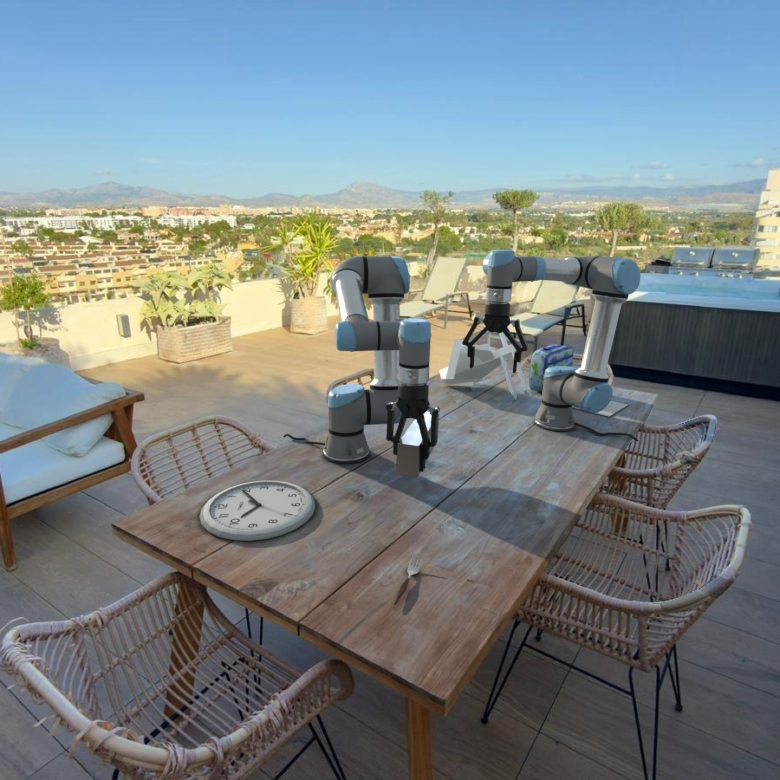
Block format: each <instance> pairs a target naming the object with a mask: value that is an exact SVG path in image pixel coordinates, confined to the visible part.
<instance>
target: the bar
mask: <svg viewBox="0 0 780 780" xmlns="http://www.w3.org/2000/svg"><path fill="white" fill-rule="evenodd" d="M424 416H425V423H426V427H427V431H428V434H429V438H430V440H431V415H430V411H426V412H425V414H424ZM439 423H440V412H439V413H438V427H439V425H440V424H439ZM400 438H401V439H400V440H399V442H398V445H397V455H396V475H398V476H404V477H410V478H417V479H419V476H420V475H421V473H422V472H420V463H421V447H422V446H423V441H422V437H421V433H420V429H419V425H418V423H417V420H416V419H413V421H412V423H411V424H410V425H409V426H408V428H407V430H406V431H405V432H404V433H403V435H401V437H400ZM435 447H436V446H434V447H430V455H431V454H432V452H433V450H434V449H435ZM428 459H429V458H428ZM428 459H426V461H425V464H426V463H427V461H428Z"/></svg>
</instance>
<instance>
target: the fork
mask: <svg viewBox="0 0 780 780" xmlns="http://www.w3.org/2000/svg"><path fill="white" fill-rule="evenodd" d="M414 555H415V553H413V554H412V557H411V559H410V562H409V565H408V567H407V573H408V576H407V578H406V579H405V580H404V582H403V583H402V584H401V586H400V587H399V591H398V593H397V596H396V598H395V601H394V604H393V606H396V604H397V603H398V602H399V600H400V599H401V598H402V596H403V594H404V593H405V591H406V590H407V588H408V585H409V582H410V579H411V577H412V576H414V575H417V574H418V573H419V572H420V570H421V565H422V561H423V557H424V556H423V555H422V556H421V555H417V554H416V555H415V557H414ZM417 556H418V558H417ZM420 556H421V557H420ZM420 558H421V559H420ZM413 559H414V560H413ZM416 559H417V560H416ZM419 560H420V562H419ZM415 563H416V564H415Z"/></svg>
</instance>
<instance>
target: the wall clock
mask: <svg viewBox="0 0 780 780" xmlns="http://www.w3.org/2000/svg"><path fill="white" fill-rule="evenodd" d="M315 501H316V500H315V498H314V496H313V495H312V493H310V492H309V491H308V490H307V489H305V488H303V487H302V486H300V485H297V484H294V483H291V482H288V481H287V482H286V481H281V480H256V481H249V482H243V483H240V484H236V485H234V486H231V487H228V488H226V489H224V490H221V491H220V492H218V493H216V494H215V495H214V496H212V497H211V498H210V499H208V500H207V501H206V502H205V504H204V505H203V507H201V509H200V514H199V521H200V523H201V526H202V527H203V528H204V529H205V530H206V531H207V532H208V533H209V534H211V535H213V536H216V537H217V538H220V539H221V538H222V539H227V540H230V541H241V542H243V541H244V542H246V541H247V542H251V541H252V542H253V541H261V540H268V539H272V538H277V537H279V536H283V535H286V534H288V533H290V532H293V531H295V530H297V529H298V528H300V527H301V526H303V525H305V524H306V523H307V522H308V521H309V520H310V519H311V518H312V516H313V515H314V513H315V510H316V502H315Z"/></svg>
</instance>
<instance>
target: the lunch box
mask: <svg viewBox="0 0 780 780" xmlns="http://www.w3.org/2000/svg"><path fill="white" fill-rule="evenodd" d="M530 359H531V360H530V366H529V377H528V379H529V380H528V387H529V390H531V391H536V392H541V393H542V391H543V378H544V375H545V370H546V369H547V368H549V367H555V366H568V367H573V363H574V347H572V346H568V345H562V344H551V345H547V346H545V347H541V348H539V349H536V350H534V352H533V353H532V355H531V358H530Z"/></svg>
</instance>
